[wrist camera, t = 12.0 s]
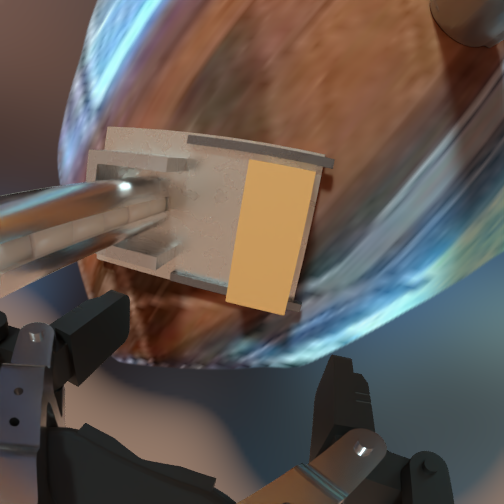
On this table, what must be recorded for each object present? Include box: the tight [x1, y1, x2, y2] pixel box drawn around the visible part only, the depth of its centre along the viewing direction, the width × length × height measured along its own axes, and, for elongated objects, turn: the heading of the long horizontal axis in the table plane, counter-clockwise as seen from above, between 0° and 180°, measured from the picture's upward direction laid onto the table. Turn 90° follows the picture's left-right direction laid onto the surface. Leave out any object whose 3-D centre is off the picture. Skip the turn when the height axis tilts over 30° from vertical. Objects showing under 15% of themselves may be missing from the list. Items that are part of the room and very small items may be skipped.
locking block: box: [226, 159, 316, 315], centre depth 32 cm, size 6×14×6 cm, turn 170°
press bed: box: [86, 127, 335, 312], centre depth 34 cm, size 28×18×6 cm, turn 80°
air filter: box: [0, 176, 170, 298], centre depth 25 cm, size 6×6×25 cm
